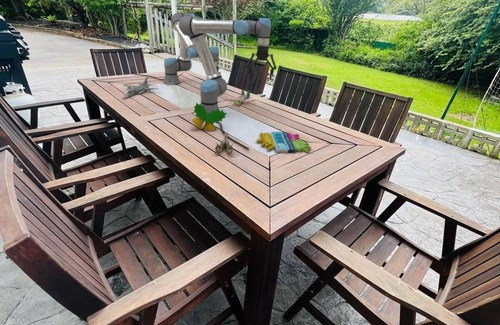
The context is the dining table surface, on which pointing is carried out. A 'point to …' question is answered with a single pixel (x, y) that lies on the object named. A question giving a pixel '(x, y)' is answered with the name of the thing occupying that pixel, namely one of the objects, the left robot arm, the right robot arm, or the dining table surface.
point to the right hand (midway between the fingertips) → (260, 79)
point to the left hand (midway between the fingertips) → (214, 92)
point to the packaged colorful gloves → (283, 142)
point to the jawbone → (224, 145)
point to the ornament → (207, 117)
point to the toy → (241, 99)
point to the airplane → (138, 89)
